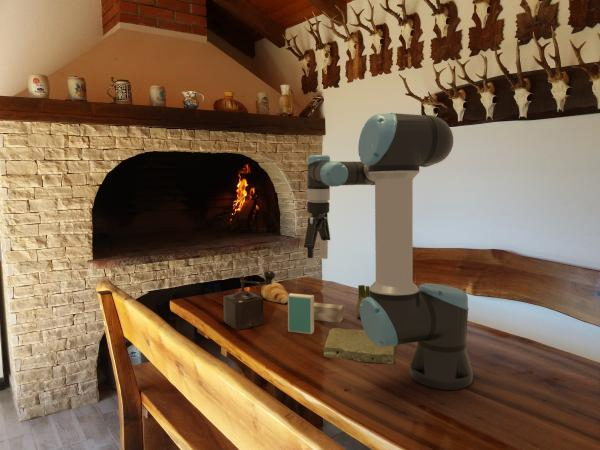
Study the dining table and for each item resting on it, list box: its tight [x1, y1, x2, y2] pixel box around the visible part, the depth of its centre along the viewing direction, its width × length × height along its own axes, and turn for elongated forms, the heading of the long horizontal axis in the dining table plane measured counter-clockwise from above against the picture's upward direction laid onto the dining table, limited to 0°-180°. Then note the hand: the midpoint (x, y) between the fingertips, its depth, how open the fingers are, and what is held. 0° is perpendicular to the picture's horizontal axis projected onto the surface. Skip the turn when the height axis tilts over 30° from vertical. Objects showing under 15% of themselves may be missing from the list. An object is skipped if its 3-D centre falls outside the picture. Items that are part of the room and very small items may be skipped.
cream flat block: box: [287, 293, 315, 335], centre depth 146 cm, size 3×8×12 cm, turn 71°
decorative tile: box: [323, 327, 396, 365], centre depth 133 cm, size 19×20×4 cm
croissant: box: [260, 281, 289, 304], centre depth 184 cm, size 21×10×8 cm, turn 31°
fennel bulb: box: [356, 284, 370, 319], centre depth 159 cm, size 6×5×12 cm
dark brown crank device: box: [222, 270, 276, 331], centre depth 155 cm, size 16×11×18 cm
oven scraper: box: [314, 302, 344, 324], centre depth 160 cm, size 18×6×5 cm, turn 71°
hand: (317, 262), depth 156 cm, fingers open, 13 cm apart
